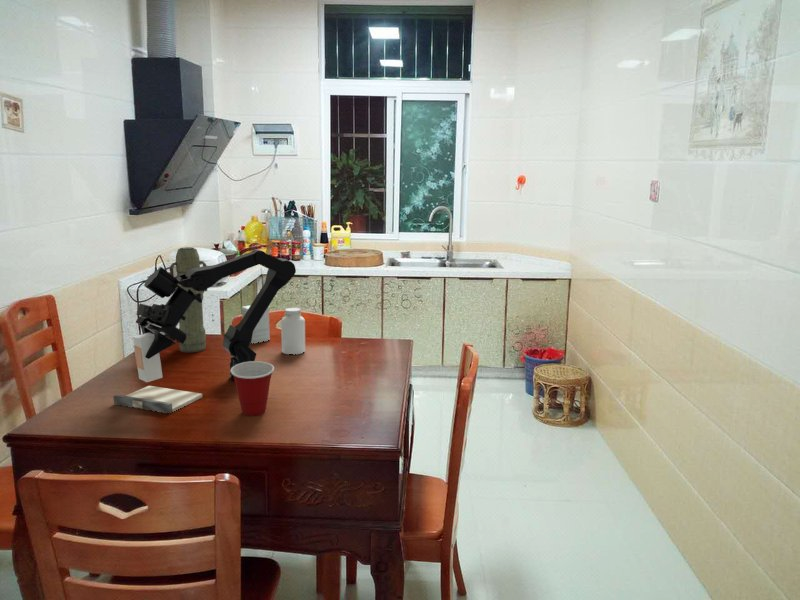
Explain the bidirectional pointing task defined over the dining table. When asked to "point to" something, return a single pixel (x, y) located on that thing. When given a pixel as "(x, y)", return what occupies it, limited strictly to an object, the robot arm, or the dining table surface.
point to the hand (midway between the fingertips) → (142, 356)
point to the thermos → (194, 314)
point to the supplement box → (260, 327)
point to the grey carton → (146, 367)
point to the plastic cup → (252, 385)
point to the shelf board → (157, 399)
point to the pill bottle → (293, 332)
